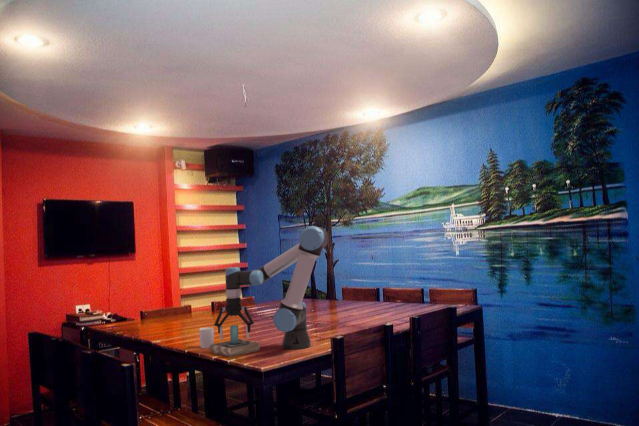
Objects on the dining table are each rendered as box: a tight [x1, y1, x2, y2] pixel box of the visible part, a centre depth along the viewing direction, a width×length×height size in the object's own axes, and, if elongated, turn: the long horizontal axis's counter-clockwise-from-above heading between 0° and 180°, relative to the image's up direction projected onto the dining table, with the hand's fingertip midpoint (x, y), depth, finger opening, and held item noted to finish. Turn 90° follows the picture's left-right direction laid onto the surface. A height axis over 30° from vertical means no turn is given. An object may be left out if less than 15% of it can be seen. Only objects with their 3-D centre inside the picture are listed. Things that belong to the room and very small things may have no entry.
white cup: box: [198, 326, 215, 349], centre depth 255 cm, size 8×8×10 cm
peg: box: [229, 324, 239, 345], centre depth 241 cm, size 4×4×12 cm
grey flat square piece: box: [209, 338, 261, 358], centre depth 240 cm, size 18×18×4 cm
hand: (234, 339), depth 240 cm, fingers open, 13 cm apart
